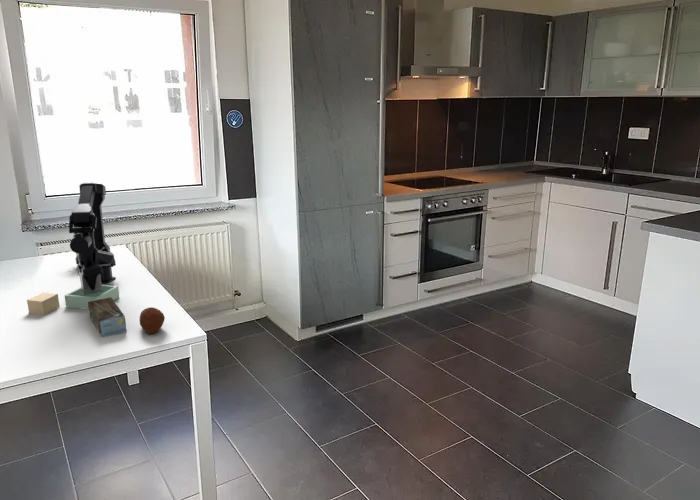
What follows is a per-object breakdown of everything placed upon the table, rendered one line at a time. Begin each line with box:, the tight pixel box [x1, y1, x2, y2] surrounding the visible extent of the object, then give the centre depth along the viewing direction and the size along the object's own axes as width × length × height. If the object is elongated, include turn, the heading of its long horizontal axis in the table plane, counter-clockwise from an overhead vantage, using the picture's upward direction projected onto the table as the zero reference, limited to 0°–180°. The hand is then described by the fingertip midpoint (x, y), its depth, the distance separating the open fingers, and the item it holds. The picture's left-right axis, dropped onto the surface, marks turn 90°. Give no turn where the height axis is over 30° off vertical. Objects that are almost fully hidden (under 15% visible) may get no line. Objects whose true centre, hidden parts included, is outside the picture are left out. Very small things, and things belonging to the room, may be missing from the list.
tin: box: [78, 270, 103, 294], centre depth 192 cm, size 6×6×7 cm
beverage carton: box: [88, 297, 127, 338], centre depth 175 cm, size 8×19×7 cm, turn 35°
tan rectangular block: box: [26, 292, 60, 315], centre depth 187 cm, size 8×6×5 cm
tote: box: [64, 284, 120, 310], centre depth 194 cm, size 13×13×4 cm
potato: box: [139, 306, 166, 335], centre depth 171 cm, size 8×12×8 cm, turn 38°
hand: (91, 287), depth 193 cm, fingers closed on tin, 6 cm apart
